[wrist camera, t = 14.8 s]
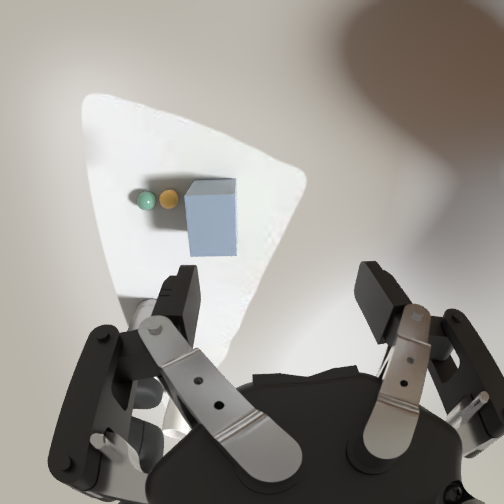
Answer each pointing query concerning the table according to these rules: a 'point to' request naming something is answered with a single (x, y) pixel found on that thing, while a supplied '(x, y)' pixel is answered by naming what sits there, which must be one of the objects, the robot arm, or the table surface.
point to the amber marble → (168, 199)
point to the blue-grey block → (212, 217)
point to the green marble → (146, 200)
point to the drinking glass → (174, 422)
